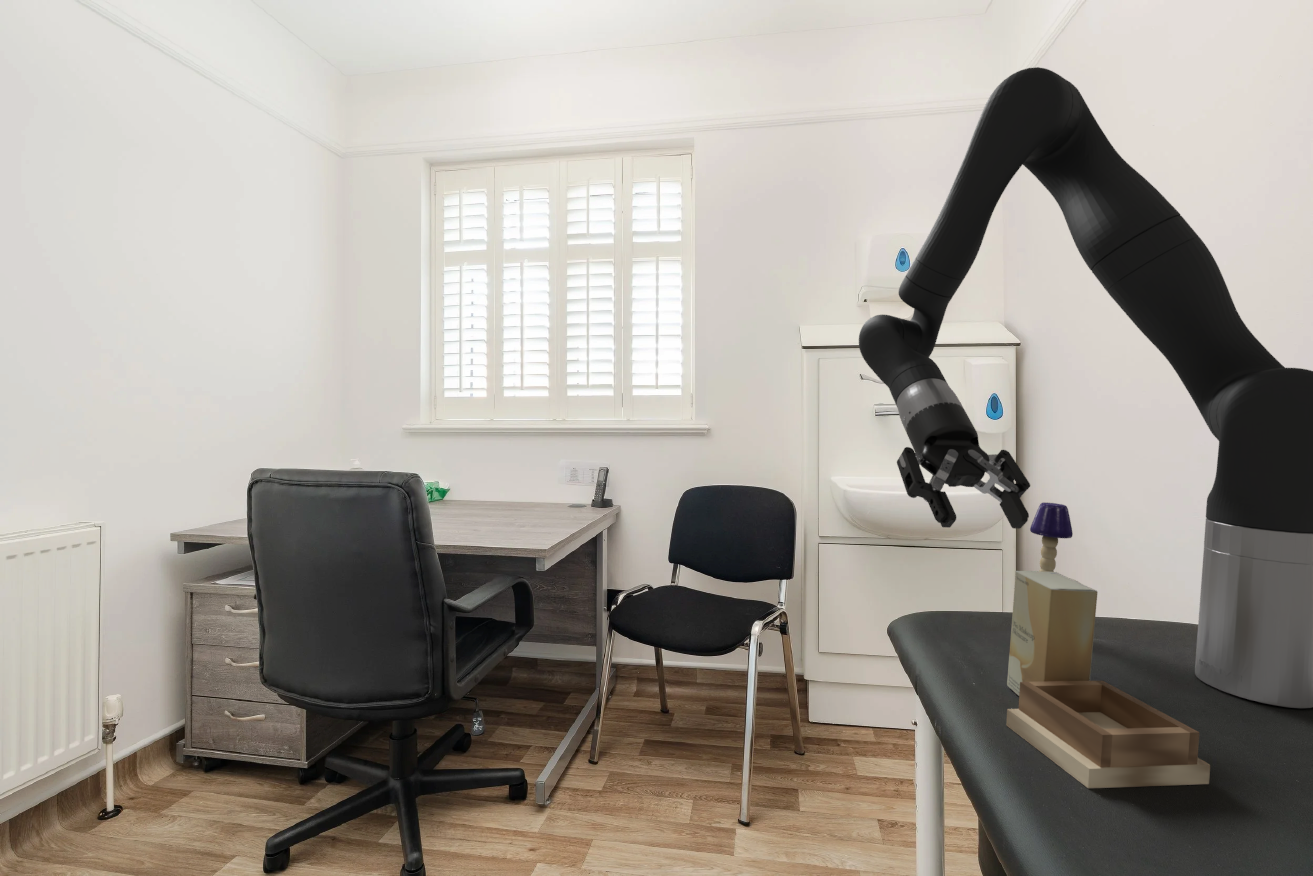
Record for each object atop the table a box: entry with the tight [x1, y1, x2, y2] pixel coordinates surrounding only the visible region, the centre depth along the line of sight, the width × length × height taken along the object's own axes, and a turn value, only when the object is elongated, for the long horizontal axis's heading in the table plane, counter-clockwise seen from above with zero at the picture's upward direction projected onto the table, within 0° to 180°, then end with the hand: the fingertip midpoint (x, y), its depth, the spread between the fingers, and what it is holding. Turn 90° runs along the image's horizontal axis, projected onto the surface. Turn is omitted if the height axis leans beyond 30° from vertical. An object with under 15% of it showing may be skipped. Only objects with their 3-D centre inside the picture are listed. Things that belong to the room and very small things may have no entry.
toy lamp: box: [1029, 502, 1073, 572], centre depth 79 cm, size 5×5×17 cm
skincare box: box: [1006, 570, 1098, 697], centre depth 58 cm, size 6×4×12 cm
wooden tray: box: [1006, 680, 1211, 789], centre depth 50 cm, size 10×9×4 cm
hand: (986, 524), depth 68 cm, fingers open, 8 cm apart
